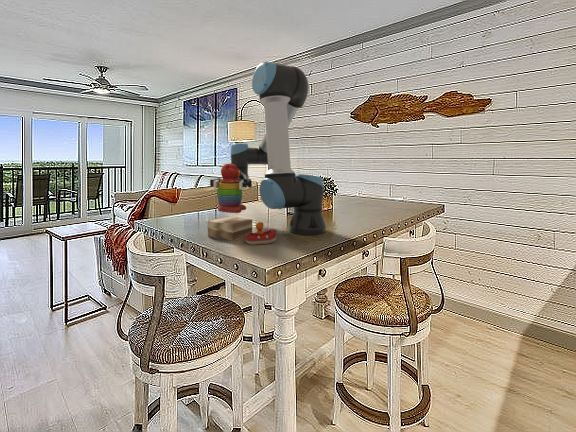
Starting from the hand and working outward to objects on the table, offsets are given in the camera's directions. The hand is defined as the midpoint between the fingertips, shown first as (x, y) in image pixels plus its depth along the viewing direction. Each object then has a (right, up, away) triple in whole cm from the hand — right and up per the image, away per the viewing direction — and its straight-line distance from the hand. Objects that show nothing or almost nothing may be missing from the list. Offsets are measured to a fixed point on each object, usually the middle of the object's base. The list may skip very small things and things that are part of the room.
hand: (227, 185), depth 131 cm
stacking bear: (0, -9, +6) cm, 11 cm away
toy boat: (+12, -21, -2) cm, 24 cm away
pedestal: (0, -19, +8) cm, 20 cm away
